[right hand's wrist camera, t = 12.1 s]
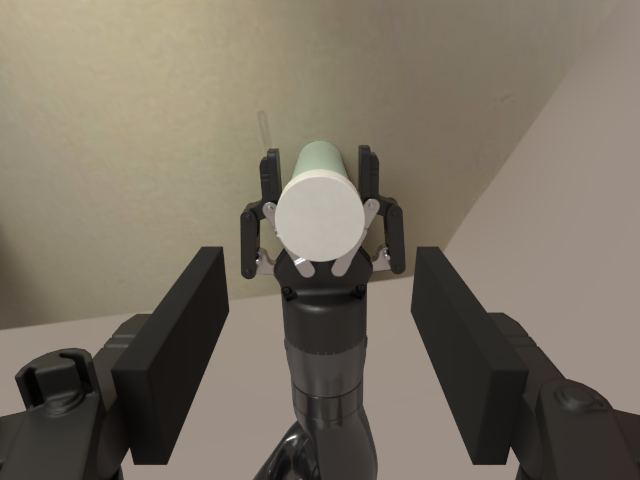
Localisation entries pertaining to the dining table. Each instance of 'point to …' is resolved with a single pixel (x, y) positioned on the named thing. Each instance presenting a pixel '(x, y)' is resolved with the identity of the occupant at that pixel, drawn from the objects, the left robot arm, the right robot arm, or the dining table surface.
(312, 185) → the lid
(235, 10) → the dining table surface
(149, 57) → the dining table surface
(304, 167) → the pale green cylinder
